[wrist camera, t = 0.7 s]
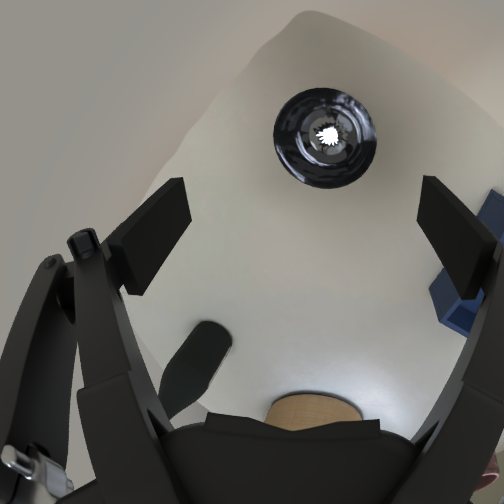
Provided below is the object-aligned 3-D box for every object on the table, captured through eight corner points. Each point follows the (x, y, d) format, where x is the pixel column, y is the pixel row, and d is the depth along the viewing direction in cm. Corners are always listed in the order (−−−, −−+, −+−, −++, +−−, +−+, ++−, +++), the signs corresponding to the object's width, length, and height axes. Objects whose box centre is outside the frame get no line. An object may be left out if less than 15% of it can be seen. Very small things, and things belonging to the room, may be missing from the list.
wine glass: (316, 91, 31) (294, 72, 18) (375, 118, 30) (393, 116, 17) (294, 146, 35) (258, 163, 22) (350, 173, 34) (349, 206, 22)
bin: (491, 188, 28) (518, 206, 21) (544, 239, 26) (568, 263, 19) (428, 288, 37) (438, 322, 30) (484, 323, 35) (497, 355, 28)
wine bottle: (239, 349, 54) (165, 480, 29) (208, 351, 58) (131, 466, 33) (221, 317, 52) (129, 452, 27) (189, 321, 56) (98, 438, 30)
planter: (260, 421, 65) (232, 485, 48) (287, 377, 54) (255, 462, 37) (336, 445, 61) (321, 509, 44) (381, 406, 50) (372, 490, 33)
